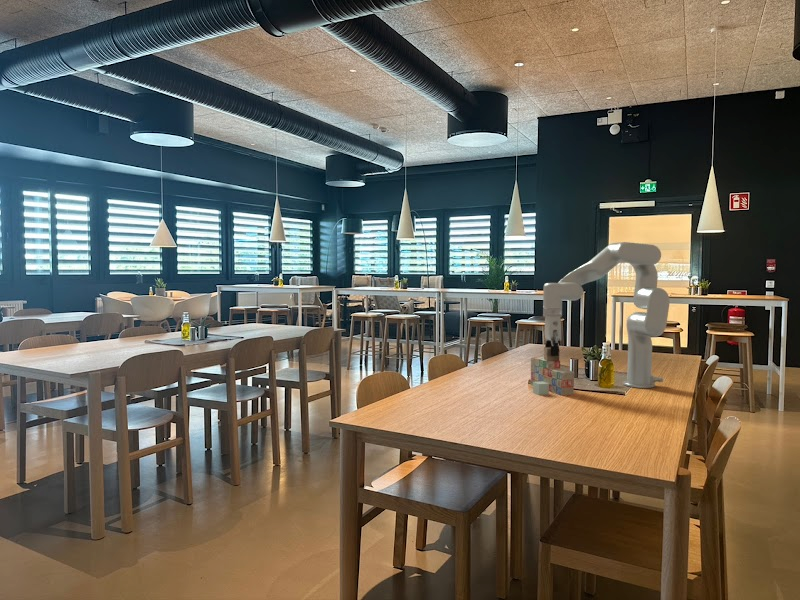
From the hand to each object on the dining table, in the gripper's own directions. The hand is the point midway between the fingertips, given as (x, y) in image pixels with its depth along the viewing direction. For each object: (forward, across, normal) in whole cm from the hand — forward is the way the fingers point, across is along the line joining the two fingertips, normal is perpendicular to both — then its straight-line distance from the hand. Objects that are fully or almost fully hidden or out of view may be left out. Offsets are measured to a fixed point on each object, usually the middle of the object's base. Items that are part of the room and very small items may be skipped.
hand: (551, 354), depth 234 cm
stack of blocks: (+15, -1, 0) cm, 15 cm away
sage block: (+15, -9, +6) cm, 18 cm away
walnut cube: (+2, 0, 0) cm, 3 cm away
